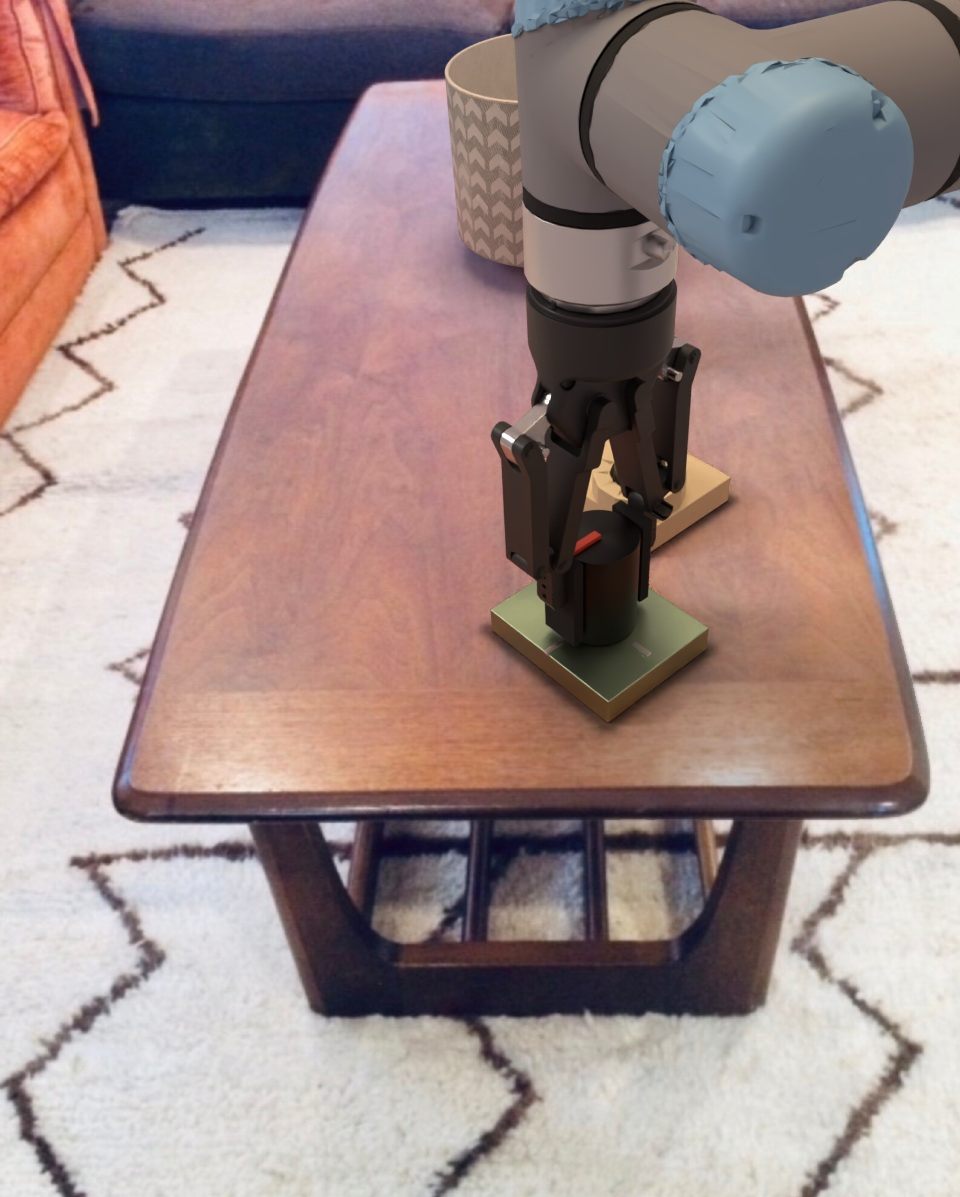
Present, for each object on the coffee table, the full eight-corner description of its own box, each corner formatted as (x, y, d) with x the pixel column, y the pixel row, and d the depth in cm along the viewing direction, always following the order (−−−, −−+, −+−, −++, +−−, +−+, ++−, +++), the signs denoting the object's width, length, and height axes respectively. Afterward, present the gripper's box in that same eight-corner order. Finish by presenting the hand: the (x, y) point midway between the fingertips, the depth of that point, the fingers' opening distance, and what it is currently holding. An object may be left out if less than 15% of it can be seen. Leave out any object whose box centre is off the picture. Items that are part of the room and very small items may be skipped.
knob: (598, 580, 73) (599, 494, 68) (653, 618, 70) (658, 532, 65) (543, 617, 71) (539, 531, 66) (597, 658, 68) (598, 572, 63)
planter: (469, 307, 104) (452, 112, 92) (453, 219, 118) (437, 39, 106) (666, 285, 105) (677, 88, 92) (628, 200, 119) (633, 19, 106)
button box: (728, 500, 82) (733, 457, 79) (641, 558, 78) (643, 515, 75) (631, 444, 87) (632, 401, 85) (545, 495, 83) (544, 453, 81)
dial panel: (708, 648, 71) (710, 625, 70) (606, 724, 67) (607, 701, 66) (589, 566, 77) (589, 543, 76) (490, 631, 73) (488, 608, 72)
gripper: (511, 379, 48) (529, 717, 64) (781, 239, 56) (736, 573, 72) (410, 318, 53) (451, 649, 69) (672, 195, 60) (653, 519, 76)
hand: (597, 609), depth 70 cm, fingers closed on knob, 5 cm apart
